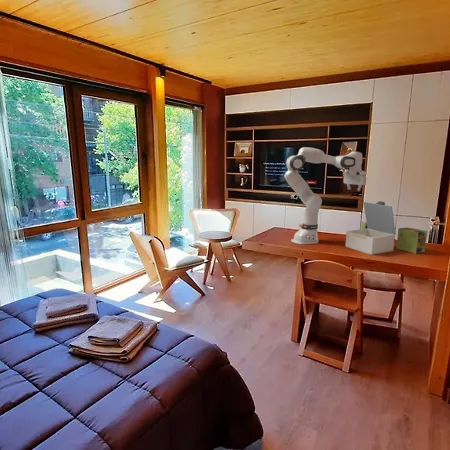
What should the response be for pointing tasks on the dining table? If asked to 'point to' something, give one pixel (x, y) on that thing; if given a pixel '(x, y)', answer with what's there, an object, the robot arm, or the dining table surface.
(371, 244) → the carton
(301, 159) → the robot arm
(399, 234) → the protein box
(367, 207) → the flap
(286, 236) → the dining table surface
